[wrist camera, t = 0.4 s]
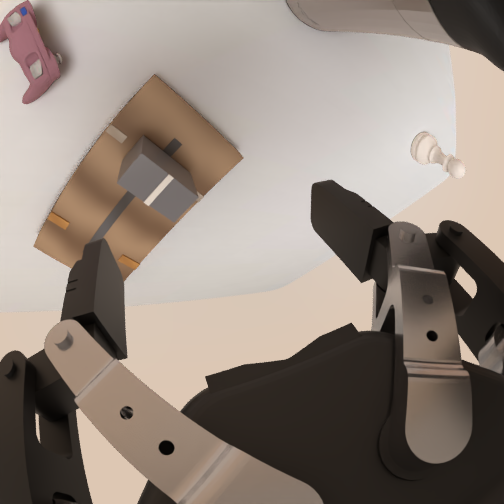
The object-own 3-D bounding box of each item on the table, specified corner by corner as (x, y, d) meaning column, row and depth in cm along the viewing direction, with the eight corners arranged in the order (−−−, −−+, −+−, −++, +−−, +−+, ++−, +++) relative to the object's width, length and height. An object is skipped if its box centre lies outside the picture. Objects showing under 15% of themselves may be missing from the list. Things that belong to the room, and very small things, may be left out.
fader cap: (143, 134, 22) (141, 153, 18) (190, 173, 26) (199, 197, 22) (122, 160, 23) (116, 183, 19) (169, 195, 27) (174, 223, 23)
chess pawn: (416, 128, 34) (462, 154, 27) (433, 135, 36) (476, 160, 29) (406, 158, 37) (449, 187, 30) (424, 162, 39) (464, 190, 32)
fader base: (154, 74, 21) (154, 75, 19) (236, 149, 29) (244, 158, 27) (38, 233, 27) (32, 247, 25) (116, 277, 34) (115, 292, 32)
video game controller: (63, 82, 19) (73, 67, 15) (26, 109, 18) (24, 101, 13) (31, 13, 13) (35, -16, 8) (-8, 39, 11) (-15, 14, 6)
